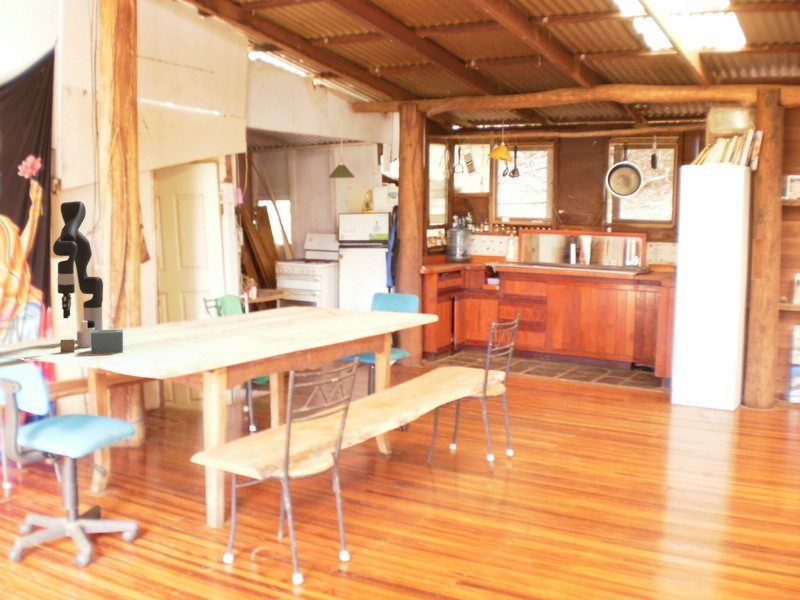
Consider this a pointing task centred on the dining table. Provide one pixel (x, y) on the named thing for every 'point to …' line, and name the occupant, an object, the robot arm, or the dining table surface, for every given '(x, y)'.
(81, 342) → the container
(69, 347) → the block
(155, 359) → the dining table surface
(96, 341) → the coin box
